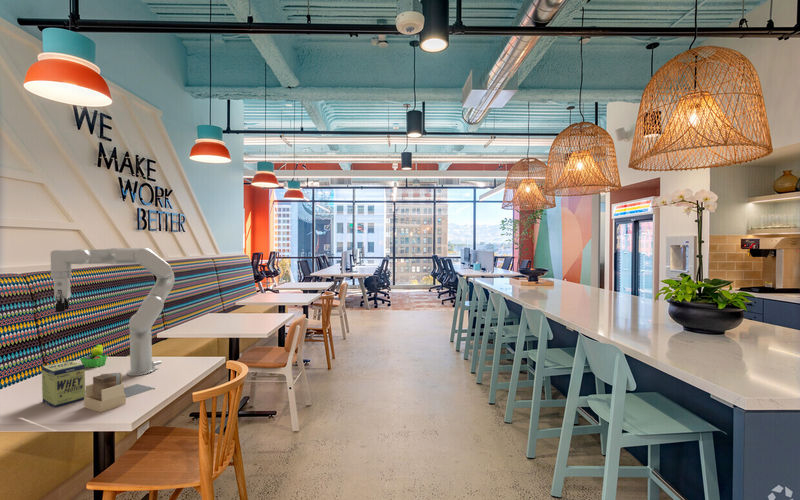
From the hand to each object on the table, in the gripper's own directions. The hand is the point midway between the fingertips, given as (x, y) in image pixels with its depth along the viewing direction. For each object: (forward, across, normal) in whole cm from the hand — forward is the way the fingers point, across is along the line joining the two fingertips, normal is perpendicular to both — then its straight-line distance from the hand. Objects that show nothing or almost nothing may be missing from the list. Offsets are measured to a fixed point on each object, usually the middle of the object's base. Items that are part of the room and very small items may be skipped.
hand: (62, 310), depth 189 cm
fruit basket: (+37, +33, -8) cm, 50 cm away
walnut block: (+36, -45, -20) cm, 61 cm away
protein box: (+37, -27, -4) cm, 46 cm away
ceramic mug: (+37, -20, -20) cm, 46 cm away
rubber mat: (+36, -31, -28) cm, 55 cm away
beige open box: (+36, -45, -20) cm, 61 cm away
